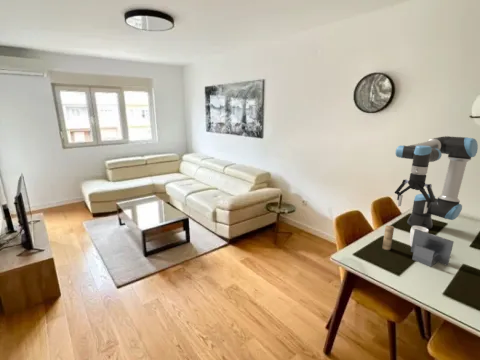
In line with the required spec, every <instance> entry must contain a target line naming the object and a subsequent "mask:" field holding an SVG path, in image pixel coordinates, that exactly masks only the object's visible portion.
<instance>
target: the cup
mask: <svg viewBox="0 0 480 360" xmlns="http://www.w3.org/2000/svg"><path fill="white" fill-rule="evenodd" d="M415 229H417V230H420V231H423V232H427V233H429V230H430V229H427V228H425V227H421V226H411V228H410V231H409V245H410V248H411V247H412V242H413V236H414V231H415Z"/></svg>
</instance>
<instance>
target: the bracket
mask: <svg viewBox="0 0 480 360" xmlns="http://www.w3.org/2000/svg"><path fill="white" fill-rule="evenodd" d="M454 243H455V242H454V240H451V239H447V238H445V237H442V236H439V235H436V234H432V233H429V232H428V233H427V232H423V231H420V230H417V229H415V231H414V236H413V242H412V247H411V246H410V252H411V253H412V259H411V260H413V261H414V262H418V263H420V264H422V265H424V266H426V267H430V268H431V267H433V266H434V265H435V264H436V263H438V264H441V265H444V266H446V267H448V266H449V264H450V259H451V255H452V250H453V246H454Z"/></svg>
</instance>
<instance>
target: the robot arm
mask: <svg viewBox="0 0 480 360" xmlns="http://www.w3.org/2000/svg"><path fill="white" fill-rule="evenodd" d="M478 148H479V145H478V141H477V139H475V138H473V137H463V136H462V137H461V136H448V135H447V136H446V135H445V136H439V137H433V138H430V139H428V140H426V141H424V142H419V143H415V144H411V145H398V146H397V147H396V149H395V156H396V157H397V158H401V159H409V160H412V162H411V168H410V172H411V173H410V174H409V180H408V179H407V178H406V179H405V178H404V179H403V180H402V183H400V185H399V186H398V187H397V189H396V190H395V191H394V194H396V195H397V197H396V200H397V207H402V203H403V197H404V195H403V194H404V193H406V192H407V191H409V190H410V189H411V190H415V191H419V192H420V193H419V194H415V196H414V200H413V205H412V210H411V211H412V212H411V214H410V215H409V217H408V219H407V221H406V222H407V225H409V226H411V227H412V226H421V227H425V228H427V229H428V230H430V229H432V228H433V225H434V223H433V219H432V215H433V216H436V217H438V218H442V219H445V220H451V221H454V220H456V219H457V218H458V216H459V215H460V214H461V211H462V209H463V204H461V203H460V199H459V198H458V197H459V193H460V189H461V186H462V182H463V179H464V174H465V171H466V167H467V163H468V162H469V161H471V160H472V158H475V157H476V156H477V153H478ZM442 154H443V155H447V158H448V160H449V163H448V167H447V172H446V174H445V179H444V183H443V188H442V191H441V194H440V195H438V196H437V198H436V196H435V194H434V191H433V188H432V185H433V184H432V183H426V179H427V173H428V169H429V165H430V163H432V162H433V163H434V162H436V161H439V160H440V159H441V158H442ZM407 184H408V186H406V187H405V185H407ZM404 187H405V188H404ZM424 187H425V188H426V189H425V188H424ZM403 188H404V189H403ZM426 190H427V191H426Z"/></svg>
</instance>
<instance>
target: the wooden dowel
mask: <svg viewBox="0 0 480 360" xmlns="http://www.w3.org/2000/svg"><path fill="white" fill-rule="evenodd" d="M394 232H395V227H394V226H393V225H386V226H385V228H384V234H383V241H382V247H381V248H382V250H385V251H391V249H392V242H393V237H394Z"/></svg>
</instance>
